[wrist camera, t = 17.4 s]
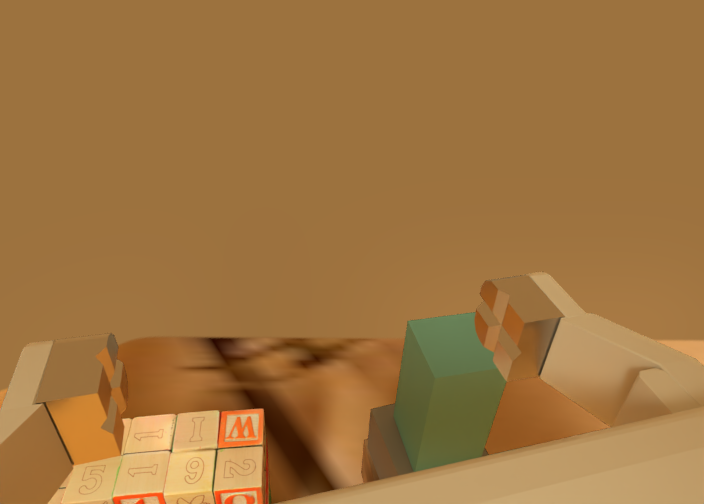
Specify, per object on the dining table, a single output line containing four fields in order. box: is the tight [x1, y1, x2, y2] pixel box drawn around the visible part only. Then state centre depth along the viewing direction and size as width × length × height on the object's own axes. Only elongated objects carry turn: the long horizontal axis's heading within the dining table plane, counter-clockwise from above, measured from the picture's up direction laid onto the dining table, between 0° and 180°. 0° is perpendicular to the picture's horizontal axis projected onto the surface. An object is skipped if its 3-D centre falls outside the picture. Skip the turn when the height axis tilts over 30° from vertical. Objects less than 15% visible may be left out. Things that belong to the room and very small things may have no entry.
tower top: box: [367, 404, 489, 480], centre depth 40 cm, size 7×7×5 cm
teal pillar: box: [393, 312, 506, 472], centre depth 35 cm, size 5×5×10 cm
